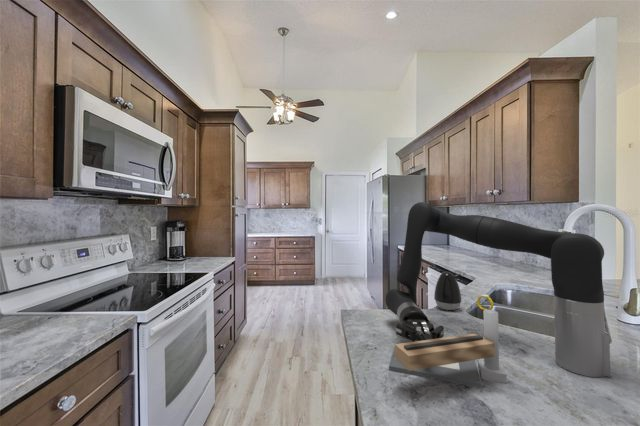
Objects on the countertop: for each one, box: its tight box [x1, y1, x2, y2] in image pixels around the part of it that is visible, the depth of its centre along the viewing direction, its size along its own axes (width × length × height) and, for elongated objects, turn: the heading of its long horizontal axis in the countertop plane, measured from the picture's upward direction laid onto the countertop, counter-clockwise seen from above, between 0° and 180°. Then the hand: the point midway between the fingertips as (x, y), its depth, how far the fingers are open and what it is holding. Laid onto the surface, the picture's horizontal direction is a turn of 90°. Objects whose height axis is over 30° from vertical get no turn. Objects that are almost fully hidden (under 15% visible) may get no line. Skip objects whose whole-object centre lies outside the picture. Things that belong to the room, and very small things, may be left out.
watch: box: [476, 294, 494, 311], centre depth 114 cm, size 6×3×6 cm, turn 30°
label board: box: [388, 309, 508, 389], centre depth 70 cm, size 26×13×15 cm, turn 68°
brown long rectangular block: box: [394, 333, 495, 371], centre depth 63 cm, size 22×6×4 cm, turn 105°
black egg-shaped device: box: [433, 271, 462, 311], centre depth 116 cm, size 10×10×15 cm
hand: (429, 345), depth 66 cm, fingers closed
